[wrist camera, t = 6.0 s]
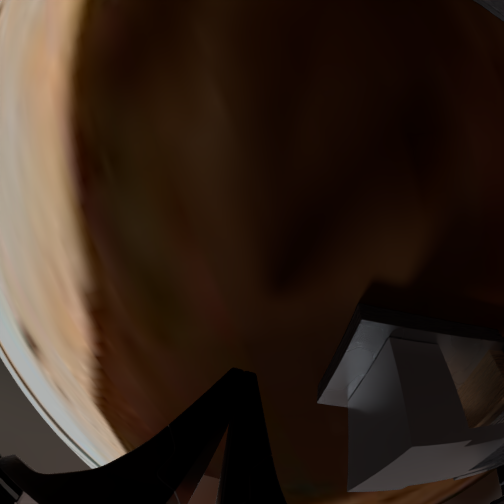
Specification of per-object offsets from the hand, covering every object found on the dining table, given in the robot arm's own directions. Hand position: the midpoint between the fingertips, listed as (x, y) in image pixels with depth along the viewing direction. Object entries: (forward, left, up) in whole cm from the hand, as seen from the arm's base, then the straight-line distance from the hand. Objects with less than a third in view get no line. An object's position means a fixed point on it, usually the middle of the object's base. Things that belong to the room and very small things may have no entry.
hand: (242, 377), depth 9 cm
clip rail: (-7, 0, -2) cm, 8 cm away
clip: (-7, 0, -1) cm, 8 cm away
